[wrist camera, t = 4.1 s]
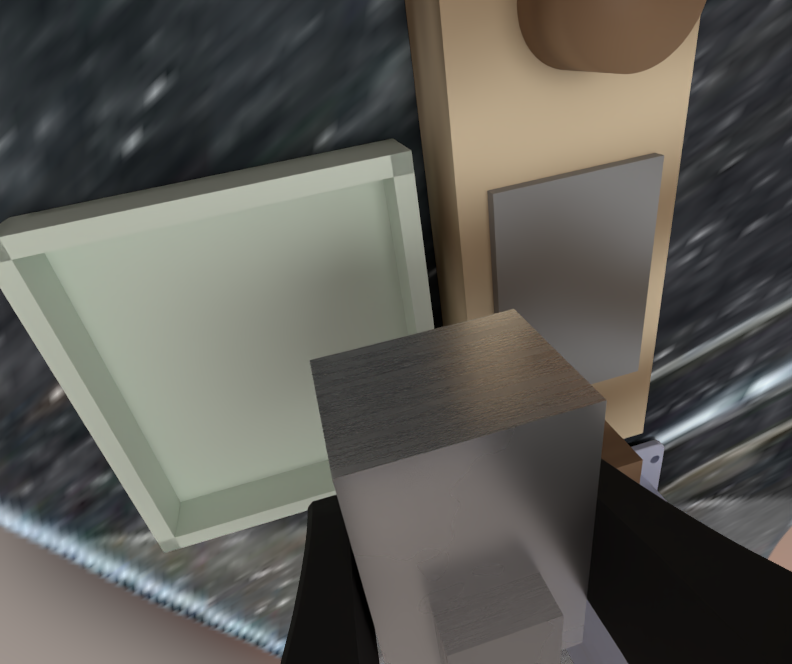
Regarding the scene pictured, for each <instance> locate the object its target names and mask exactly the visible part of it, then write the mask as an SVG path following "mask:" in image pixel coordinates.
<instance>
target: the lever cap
mask: <svg viewBox="0 0 792 664" xmlns="http://www.w3.org/2000/svg"><path fill="white" fill-rule="evenodd" d="M310 365H311V371H312V376H313V381H314V386H315V392H316V397H317V402H318V407H319V413H320V418H321V423H322V428H323V433H324V439H325V444H326V449H327V454H328V460H329V465H330V470H331V475H332V480H333V484H334V487H335V491H336V494H337V498H338V501H339V505H340V508H341V512H342V515H343V519H344V522H345V526H346V529H347V533H348V536H349V540H350V543H351V546H352V550H353V553H354V557H355V560H356V564H357V567H358V571H359V574H360V578H361V581H362V585H363V588H364V592H365V595H366V599H367V602H368V606H369V609H370V613H371V616H372V620H373V623H374V627H375V630H376V634H377V637H378V641H379V644H380V648H381V651H382V655H383V658H384V662H385V664H561V650H564V649H567V648H569V647H572V646H575V645H578V644H580V643H582V640H583V631H584V621H585V611H586V601H587V591H588V581H589V571H590V562H591V552H592V542H593V532H594V522H595V512H596V502H597V493H598V483H599V473H600V463H601V453H602V443H603V433H604V424H605V414H606V404H607V400H606V399H605V398H604V397H603V396H602V395H601V394H600V393H599V392H598V391H597V390H596V389H595V388H594V387H593V386H592V385H591V384H590V383H589V382H588V381H587V380H586V379H585V378H584V377H583V376H582V375H581V374H580V373H579V372H578V371H577V370H575V369H574V368H573V367H572V366H571V365H570V364H569V363H568V362H567V361H566V360H565V359H564V358H563V357H562V356H561V355H560V354H559V353H558V352H557V351H556V350H555V349H554V348H553V347H552V346H551V345H550V344H549V343H548V342H547V341H546V340H545V339H544V338H543V337H542V336H541V335H540V334H539V333H538V332H537V331H536V330H535V329H534V328H533V327H532V326H531V325H530V324H529V323H528V322H527V321H526V320H525V319H524V318H523V317H522V316H521V315H520V314H519V313H518V312H517V311H516V310H515V309H511V310H507V311H503V312H499V313H495V314H491V315H487V316H483V317H479V318H475V319H471V320H467V321H463V322H459V323H455V324H452V325H448V326H444V327H440V328H436V329H432V330H428V331H424V332H420V333H416V334H412V335H408V336H404V337H400V338H396V339H392V340H388V341H384V342H380V343H376V344H372V345H368V346H364V347H360V348H356V349H352V350H348V351H344V352H340V353H336V354H332V355H328V356H324V357H320V358H316V359H312V360H310Z"/></svg>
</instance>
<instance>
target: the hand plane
mask: <svg viewBox="0 0 792 664" xmlns="http://www.w3.org/2000/svg"><path fill="white" fill-rule="evenodd" d="M705 3H706V0H405V6H406V15H407V23H408V32H409V40H410V49H411V57H412V66H413V74H414V83H415V91H416V100H417V108H418V117H419V125H420V134H421V142H422V150H423V159H424V167H425V176H426V184H427V193H428V201H429V210H430V218H431V227H432V235H433V244H434V252H435V261H436V269H437V278H438V286H439V295H440V303H441V312H442V320H443V327H444V326H448V325H452V324H455V323H459V322H463V321H467V320H471V319H475V318H479V317H483V316H487V315H491V314H495V313H499V312H503V311H507V310H511V309H515V310H516V311H517V312H518V313H519V314H520V315H521V316H522V317H523V318H524V319H525V320H526V321H527V322H528V323H529V324H530V325H531V326H532V327H533V328H534V329H535V330H536V331H537V332H538V333H539V334H540V335H541V336H542V337H543V338H544V339H545V340H546V341H547V342H548V343H549V344H550V345H551V346H552V347H553V348H554V349H555V350H556V351H557V352H558V353H559V354H560V355H561V356H562V357H563V358H564V359H565V360H566V361H567V362H568V363H569V364H570V365H571V366H572V367H573V368H574V369H575V370H577V371H578V372H579V373H580V374H581V375H582V376H583V377H584V378H585V379H586V380H587V381H588V382H589V383H590V384H591V385H592V386H593V387H594V388H595V389H596V390H597V391H598V392H599V393H600V394H601V395H602V396H603V397H604V398H605V399H606V400H607V404H606V414H605V424H604V433H603V443H602V453H601V458H602V459H603V460H605V461H606V462H608V463H609V464H611V465H612V466H614V467H615V468H616V469H618V470H619V471H621V472H622V473H624V474H625V475H627V476H628V477H630V478H631V479H633V480H634V481H636V482H637V483H639V484H640V477H641V470H642V463H643V459H642V458H641V457H640V456H639V455H638V454H637V453H636V452H635V451H634V450H633V449H632V448H631V447H630V446H629V445H628V444H627V443H626V441H625V440H624V439H625V438H628V437H631V436H634V435H638V434H641V433H643V428H644V421H645V413H646V406H647V399H648V392H649V384H650V377H651V370H652V363H653V355H654V348H655V341H656V334H657V326H658V319H659V312H660V305H661V297H662V290H663V283H664V276H665V268H666V261H667V254H668V247H669V239H670V232H671V225H672V218H673V211H674V203H675V196H676V189H677V182H678V174H679V167H680V160H681V153H682V145H683V138H684V131H685V124H686V116H687V109H688V102H689V95H690V87H691V80H692V73H693V66H694V58H695V51H696V44H697V37H698V29H699V22H700V15H701V12H702V10H703V8H704V5H705Z"/></svg>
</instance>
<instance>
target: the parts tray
mask: <svg viewBox="0 0 792 664" xmlns="http://www.w3.org/2000/svg"><path fill="white" fill-rule="evenodd" d="M0 288H1V290H2V292H3V293H4V295H5V296H6V298H7V300H8V301H9V303H10V305H11V306H12V308H13V309H14V311H15V313H16V314H17V316H18V317H19V319H20V321H21V322H22V324H23V326H24V327H25V329H26V330H27V332H28V334H29V335H30V337H31V338H32V340H33V342H34V343H35V345H36V347H37V348H38V350H39V351H40V353H41V355H42V356H43V358H44V359H45V361H46V363H47V364H48V366H49V368H50V369H51V371H52V372H53V374H54V376H55V377H56V379H57V380H58V382H59V384H60V385H61V387H62V389H63V390H64V392H65V393H66V395H67V397H68V398H69V400H70V401H71V403H72V405H73V406H74V408H75V410H76V411H77V413H78V414H79V416H80V418H81V419H82V421H83V422H84V424H85V426H86V427H87V429H88V431H89V432H90V434H91V435H92V437H93V439H94V440H95V442H96V443H97V445H98V447H99V448H100V450H101V452H102V453H103V455H104V456H105V458H106V460H107V461H108V463H109V464H110V466H111V468H112V469H113V471H114V473H115V474H116V476H117V477H118V479H119V481H120V482H121V484H122V485H123V487H124V489H125V490H126V492H127V494H128V495H129V497H130V498H131V500H132V502H133V503H134V505H135V506H136V508H137V510H138V511H139V513H140V515H141V516H142V518H143V519H144V521H145V523H146V524H147V526H148V527H149V529H150V531H151V532H152V534H153V536H154V537H155V539H156V540H157V542H158V544H159V545H160V547H161V548H162V550H163V552H164V553H166V552H170V551H173V550H176V549H180V548H183V547H186V546H190V545H193V544H196V543H200V542H203V541H206V540H210V539H213V538H216V537H220V536H223V535H227V534H230V533H233V532H237V531H240V530H243V529H247V528H250V527H253V526H257V525H260V524H263V523H267V522H270V521H273V520H277V519H280V518H283V517H287V516H290V515H293V514H297V513H300V512H303V511H307V510H308V507H309V505H310V504H311V503H312V501H316V500H319V499H323V498H326V497H330V496H333V495H337V494H336V491H335V487H334V484H333V480H332V475H331V470H330V465H329V460H328V454H327V449H326V444H325V439H324V433H323V428H322V423H321V418H320V413H319V407H318V402H317V397H316V392H315V386H314V381H313V376H312V371H311V365H310V360H312V359H316V358H320V357H324V356H328V355H332V354H336V353H340V352H344V351H348V350H352V349H356V348H360V347H364V346H368V345H372V344H376V343H380V342H384V341H388V340H392V339H396V338H400V337H404V336H408V335H412V334H416V333H420V332H424V331H428V330H432V329H434V322H433V314H432V306H431V299H430V291H429V283H428V275H427V268H426V260H425V252H424V244H423V237H422V229H421V221H420V213H419V206H418V198H417V190H416V182H415V175H414V167H413V159H412V151H411V150H410V149H408V148H407V147H405V146H404V145H402V144H401V143H399V142H397V141H396V140H394V139H393V138H392V139H387V140H383V141H378V142H373V143H368V144H363V145H358V146H353V147H349V148H344V149H339V150H334V151H329V152H324V153H320V154H315V155H310V156H305V157H300V158H295V159H290V160H286V161H281V162H276V163H271V164H266V165H261V166H256V167H252V168H247V169H242V170H237V171H232V172H227V173H223V174H218V175H213V176H208V177H203V178H198V179H193V180H189V181H184V182H179V183H174V184H169V185H164V186H159V187H155V188H150V189H145V190H140V191H135V192H130V193H125V194H121V195H116V196H111V197H106V198H101V199H96V200H92V201H87V202H82V203H77V204H72V205H67V206H62V207H58V208H53V209H48V210H43V211H38V212H33V213H28V214H24V215H19V216H14V217H9V218H8V219H6V220H5V221H3V222H2V223H1V224H0Z"/></svg>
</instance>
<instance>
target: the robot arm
mask: <svg viewBox="0 0 792 664" xmlns="http://www.w3.org/2000/svg"><path fill="white" fill-rule="evenodd" d="M631 448H632V449H633V450H634V451H635V452H636V453H637V454H638V455H639V456H640V457H641V458H642V459H643V463H642V470H641V477H640V484H639V483H637V482H636V481H634V480H633V479H631V478H630V477H628V476H627V475H625V474H624V473H622V472H621V471H619V470H618V469H616V468H615V467H614V466H612V465H611V464H609V463H608V462H606V461H605V460H603V459H602V458H601V463H600V473H599V483H598V493H597V502H596V512H595V522H594V532H593V542H592V552H591V562H590V571H589V581H588V591H587V601H586V611H585V621H584V631H583V640H582V643H580V644H578V645H575V646H572V647H569V648H567V649H566V650H567V652H568V654H569V656H570V657H571V659H572V661H573V663H574V664H792V572H791V571H789V570H787V569H785V568H783V567H781V566H779V565H777V564H776V563H774V562H772V561H770V560H768V559H766V558H764V557H762V556H760V555H758V554H756V553H754V552H752V551H750V550H748V549H746V548H745V547H743V546H741V545H739V544H737V543H735V542H734V541H732V540H730V539H728V538H727V537H725V536H723V535H721V534H720V533H718V532H716V531H714V530H713V529H711V528H709V527H708V526H706V525H704V524H702V523H701V522H699V521H697V520H696V519H694V518H692V517H691V516H689V515H687V514H686V513H684V512H683V511H681V510H679V509H678V508H676V507H674V506H673V505H671V504H670V503H668V502H667V501H666V500H665V499H664V498H663V497H662V495H661V494H660V493H659V492H658V491H657V488H658V482H659V477H660V471H661V465H662V459H663V453H664V446H663V445H662V444H661V443H660V442H659V441H658V440H652V441H649V442H645V443H642V444H639V445H636V446H632V447H631ZM281 664H379V657H378V649H377V642H376V634H375V627H374V623H373V620H372V616H371V613H370V609H369V606H368V602H367V599H366V595H365V592H364V588H363V585H362V581H361V578H360V574H359V571H358V567H357V564H356V560H355V557H354V553H353V550H352V546H351V543H350V540H349V536H348V533H347V529H346V526H345V522H344V519H343V515H342V512H341V508H340V505H339V501H338V498H337V495H333V496H330V497H326V498H323V499H319V500H316V501H312V503H311V504H310V505H309V507H308V523H307V534H306V543H305V551H304V557H303V564H302V570H301V576H300V581H299V586H298V591H297V596H296V601H295V606H294V611H293V616H292V620H291V624H290V628H289V632H288V636H287V640H286V644H285V648H284V652H283V656H282V660H281Z"/></svg>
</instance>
